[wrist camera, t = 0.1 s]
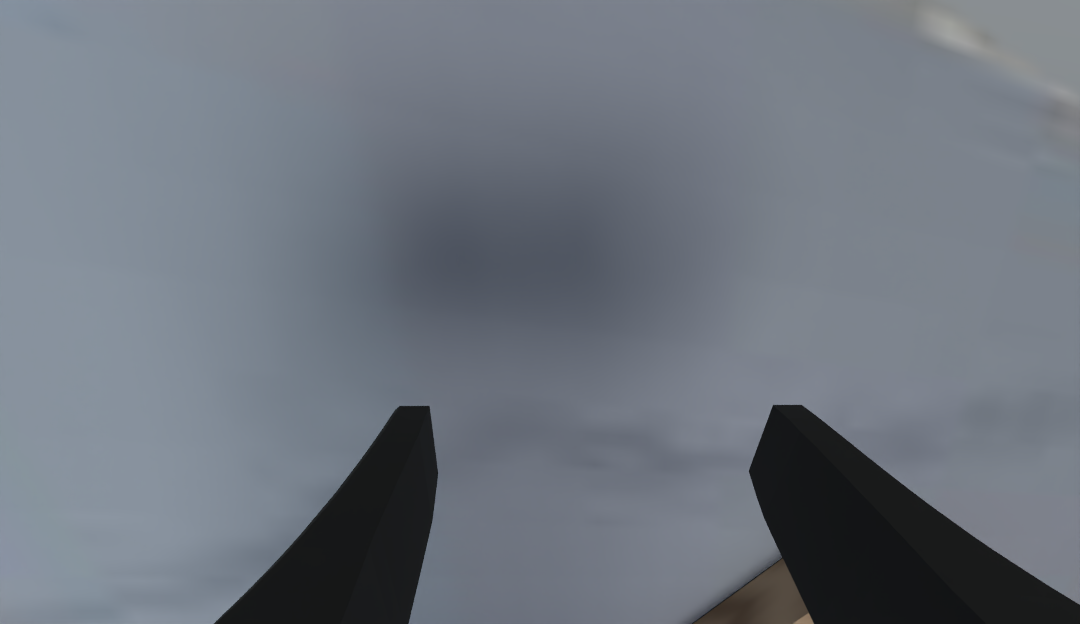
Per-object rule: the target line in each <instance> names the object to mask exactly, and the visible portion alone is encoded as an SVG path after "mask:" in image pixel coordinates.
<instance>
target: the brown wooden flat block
mask: <svg viewBox="0 0 1080 624" xmlns="http://www.w3.org/2000/svg"><path fill="white" fill-rule="evenodd" d="M693 624H814V623H813V621H812V619H811V616H810V614H809V612H808V610H807V608H806V606H805V604H804V602H803V600H802V598H801V595H800V593H799V591H798V589H797V587H796V585H795V583H794V581H793V579H792V577H791V574H790V572H789V570H788V568H787V566H786V564H785V562H784V560H783V558H782V559H781V560H780V561H778V562H777V563H776V564H774V565H773V566H771V567H770V568H769V569H767V570H766V571H765V572H763V573H762V574H761V575H759V576H758V577H756V578H755V579H754V580H752V581H751V582H750V583H748V584H747V585H745V586H744V587H743V588H741V589H740V590H739V591H737V592H736V593H734V594H733V595H732V596H730V597H729V598H728V599H726V600H725V601H724V602H722V603H721V604H719V605H718V606H717V607H715V608H714V609H713V610H711V611H710V612H708V613H707V614H706V615H704V616H703V617H702V618H700V619H699V620H697V621H696V622H695V623H693Z"/></svg>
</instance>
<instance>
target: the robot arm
mask: <svg viewBox="0 0 1080 624" xmlns="http://www.w3.org/2000/svg"><path fill="white" fill-rule="evenodd" d="M749 473H750V476H751V479H752V483H753V486H754V489H755V492H756V496H757V499H758V502H759V504H760V507H761V510H762V513H763V516H764V519H765V521H766V523H767V525H768V527H769V530H770V532H771V534H772V536H773V538H774V540H775V543H776V545H777V547H778V549H779V551H780V553H781V555H782V558H783V560H784V562H785V564H786V566H787V568H788V570H789V572H790V574H791V577H792V579H793V581H794V583H795V585H796V587H797V589H798V591H799V593H800V595H801V598H802V600H803V602H804V604H805V606H806V608H807V610H808V612H809V614H810V616H811V619H812V621H813V623H814V624H1080V605H1079V604H1077V603H1076V602H1074V601H1072V600H1071V599H1069V598H1068V597H1066V596H1064V595H1063V594H1061V593H1059V592H1058V591H1056V590H1054V589H1053V588H1051V587H1050V586H1048V585H1046V584H1045V583H1043V582H1042V581H1040V580H1038V579H1037V578H1035V577H1034V576H1032V575H1031V574H1029V573H1028V572H1026V571H1025V570H1023V569H1022V568H1020V567H1018V566H1017V565H1015V564H1014V563H1012V562H1011V561H1009V560H1008V559H1006V558H1005V557H1003V556H1002V555H1000V554H998V553H997V552H995V551H994V550H992V549H991V548H989V547H988V546H987V545H985V544H984V543H982V542H981V541H979V540H978V539H976V538H975V537H973V536H972V535H971V534H969V533H968V532H966V531H965V530H964V529H962V528H961V527H959V526H958V525H957V524H955V523H954V522H952V521H951V520H950V519H948V518H947V517H945V516H944V515H943V514H941V513H940V512H939V511H937V510H936V509H934V508H933V507H932V506H930V505H929V504H928V503H926V502H925V501H924V500H922V499H921V498H920V497H918V496H917V495H916V494H914V493H913V492H912V491H910V490H909V489H908V488H906V487H905V486H904V485H903V484H901V483H900V482H899V481H897V480H896V479H895V478H894V477H892V476H891V475H890V474H888V473H887V472H886V471H885V470H883V469H882V468H881V467H880V466H878V465H877V464H876V463H875V462H873V461H872V460H871V459H869V458H868V457H867V456H866V455H864V454H863V453H862V452H861V451H859V450H858V449H857V448H856V447H855V446H853V445H852V444H851V443H850V442H848V441H847V440H846V439H845V438H843V437H842V436H841V435H840V434H838V433H837V432H836V431H835V430H833V429H832V428H831V427H830V426H828V425H827V424H826V423H825V422H823V421H822V420H821V419H819V418H818V417H817V416H816V415H814V414H813V413H812V412H810V411H809V410H808V409H806V408H805V407H804V406H802V405H773V407H772V410H771V412H770V415H769V418H768V420H767V423H766V426H765V429H764V431H763V434H762V437H761V439H760V442H759V445H758V447H757V450H756V453H755V456H754V458H753V461H752V464H751V466H750V469H749ZM437 478H438V469H437V461H436V453H435V446H434V438H433V430H432V422H431V414H430V406H399V407H398V408H397V409H396V410H395V411H394V412H393V414H392V415H391V417H390V419H389V420H388V422H387V423H386V425H385V426H384V428H383V429H382V431H381V432H380V433H379V435H378V436H377V438H376V439H375V441H374V442H373V444H372V445H371V446H370V448H369V449H368V450H367V452H366V453H365V455H364V456H363V457H362V459H361V460H360V462H359V463H358V464H357V465H356V467H355V468H354V469H353V471H352V472H351V473H350V475H349V476H348V477H347V479H346V480H345V481H344V482H343V484H342V485H341V486H340V488H339V489H338V490H337V492H336V493H335V494H334V495H333V497H332V498H331V499H330V500H329V501H328V503H327V504H326V505H325V506H324V507H323V509H322V510H321V511H320V512H319V513H318V515H317V516H316V517H315V518H314V519H313V520H312V522H311V523H310V524H309V525H308V526H307V528H306V529H305V530H304V531H303V532H302V533H301V535H300V536H299V537H298V538H297V539H296V540H295V541H294V543H293V544H292V545H291V546H290V547H289V548H288V549H287V550H286V551H285V552H284V554H283V555H282V556H281V557H280V558H279V559H278V560H277V561H276V562H275V563H274V564H273V565H272V566H271V567H270V568H269V570H268V571H267V572H266V573H265V574H264V575H263V576H262V577H261V578H260V579H259V580H258V581H257V582H256V583H255V584H254V585H253V586H252V587H251V588H250V589H249V590H248V591H247V592H246V593H245V594H244V595H243V596H242V597H241V598H240V599H239V600H238V601H237V602H236V603H235V604H234V605H233V606H232V607H231V608H230V609H229V610H227V611H226V612H225V613H224V614H223V615H222V616H221V617H220V618H219V619H218V620H217V621H216V622H215V623H214V624H408V623H409V619H410V614H411V610H412V606H413V602H414V597H415V593H416V589H417V585H418V580H419V576H420V572H421V568H422V563H423V559H424V555H425V551H426V546H427V542H428V538H429V533H430V529H431V524H432V519H433V511H434V503H435V495H436V487H437Z"/></svg>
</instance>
